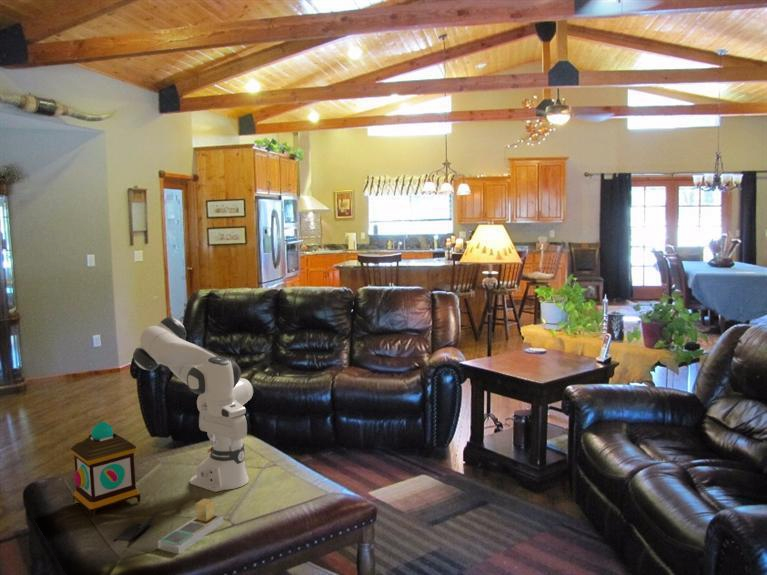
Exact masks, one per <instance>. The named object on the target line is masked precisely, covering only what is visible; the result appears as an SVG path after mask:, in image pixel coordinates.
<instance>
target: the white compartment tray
mask: <svg viewBox="0 0 767 575" xmlns="http://www.w3.org/2000/svg"><path fill="white" fill-rule="evenodd" d="M223 523H224V515H221V514H217V513H215V519H213V520H212V521H210V522H209V523H208V524H205V523H201V522H196V516H194V517H193V518H191V519H190V520H188V521H187V522H185V523H183V524H182V525H181V526H179V527H178V528H176V529H174V530H172V531H170V532H169V533H167V534H166V535H164V536H163V537H161V538H160V539H159V540H158V541H157V549H158V550H162V551H164V552H169V553H174V554H177V555H179V554H182V552H184V551H185V550H186V549H189V548H190V547H191V546H192V545H193V544H195V543H197V542H199V540H201V539H202V538H204V537H206V535H208V534H209V533H211V532H213V531H214V530H215V529H216V528H218V527H219V526H221V525H222V524H223Z"/></svg>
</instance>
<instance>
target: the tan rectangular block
mask: <svg viewBox="0 0 767 575" xmlns="http://www.w3.org/2000/svg"><path fill="white" fill-rule="evenodd" d="M194 508H195V517H196V522H201V523H205V524H208V523H209V522H210V521H212V520H213V519H215V514H216V511H215V510H216V508H215V500H214V499H209V498H202V499H201V500H199V501H197V502H196V503H195V507H194Z"/></svg>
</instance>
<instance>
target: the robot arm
mask: <svg viewBox="0 0 767 575" xmlns="http://www.w3.org/2000/svg"><path fill="white" fill-rule="evenodd" d="M186 338H187V330H186V328H185V326H184V324H183V323H182V322H181V320H179V319H176V318H174V317H171V316H167V317H165V318H163V319H162V320H161V321H160V323H158V324H157V325H150V326H147V328H145V329H144V330H142V332H141V334H140V337H139V341H140V344H139V346H138V347H136V348H135V350H134V352H133V354H132V359H133V360H134V363H135V364H136V365H137V366H138V367H139V368H140V369H143V370H145V371H146V370H147V371H149V372H150V371H155V370H156V369H157V368H159V367H160V365H162V366H164V367H168V369H169V371H170V372H171V373H173V374H174V375H175V376H176V377H177V378H178V379H179V380H180V381H182V382H183V383H184V384H185V385H186V386H187V388H188V389H189V390H190V391H191V392H192V393H193V394H195V395H198V397H197V400H196V405H197V409H198V411H199V417H198V428H199V430H200V431H202V432H206V433H207V437H208V440H209V441H210V443H209V444H210V446H211V447H210V448H209V449H207V453H209V456H208V457H207V458H205V459H204V460H203V461H201V463H200V464H198V465H197V468H196V474H195V475H194V476H192V477H191V479H190V480H189V483H190V485H193V486H197V487H200V488H202V489H205V490H208V491H210V492H215V493H217V492H221V491H226V490H228V491H229V490H234V489H237V488H240V487H243V486H245V485H247V483H249V481H250V479H249V476H248V472H247V467H246V463H245V456H246V455H245V444H244V440H243V439H245V438H246V437H247V433H248V423H247V419H246V418H247V417H246V416H245V414H246V413H247V409H246V407H245V406H244V405H245V404H247V403H248V401H250V400H251V399H252V397H253V394H254V388H253V385H252V383H251V382H250V381H249V380H248V379H247V378H243V377H241V375H242V371H241V367H240V366H239V365H238V363H237V362H236V361H235V360H233V359H232V358H227V357H225V356H220V355H218V354H216V353H214V352H212V351H211V350H209V349H207V348H205V347H203V346H201V345H198V344H195V343H192V342H189V341H187V340H186Z"/></svg>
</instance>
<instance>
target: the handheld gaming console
mask: <svg viewBox="0 0 767 575" xmlns="http://www.w3.org/2000/svg"><path fill="white" fill-rule="evenodd" d="M158 513H159V512H158V511H156V512H155V513H154V514H153V515H151V517H149V518H148V519H147V520H146V521H145V522H143V523H137V522H133V523H132V524H131V525H130V526H128V527H127V528H126V529H125V530H122V532H121V533H119V535H117V536H116V537H114V539H113V541H114V542H117V541H123V542H124V541H125V542H127V541H128V542H132V541H133V540H134V539H135V538H136V537H138V535H139V534H141V533H142V532H143V531H144V530H145V529H147V528H148V527H149V526H150V524H152V522H153V521H154V519H155V518H156V516H157V515H158Z"/></svg>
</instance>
